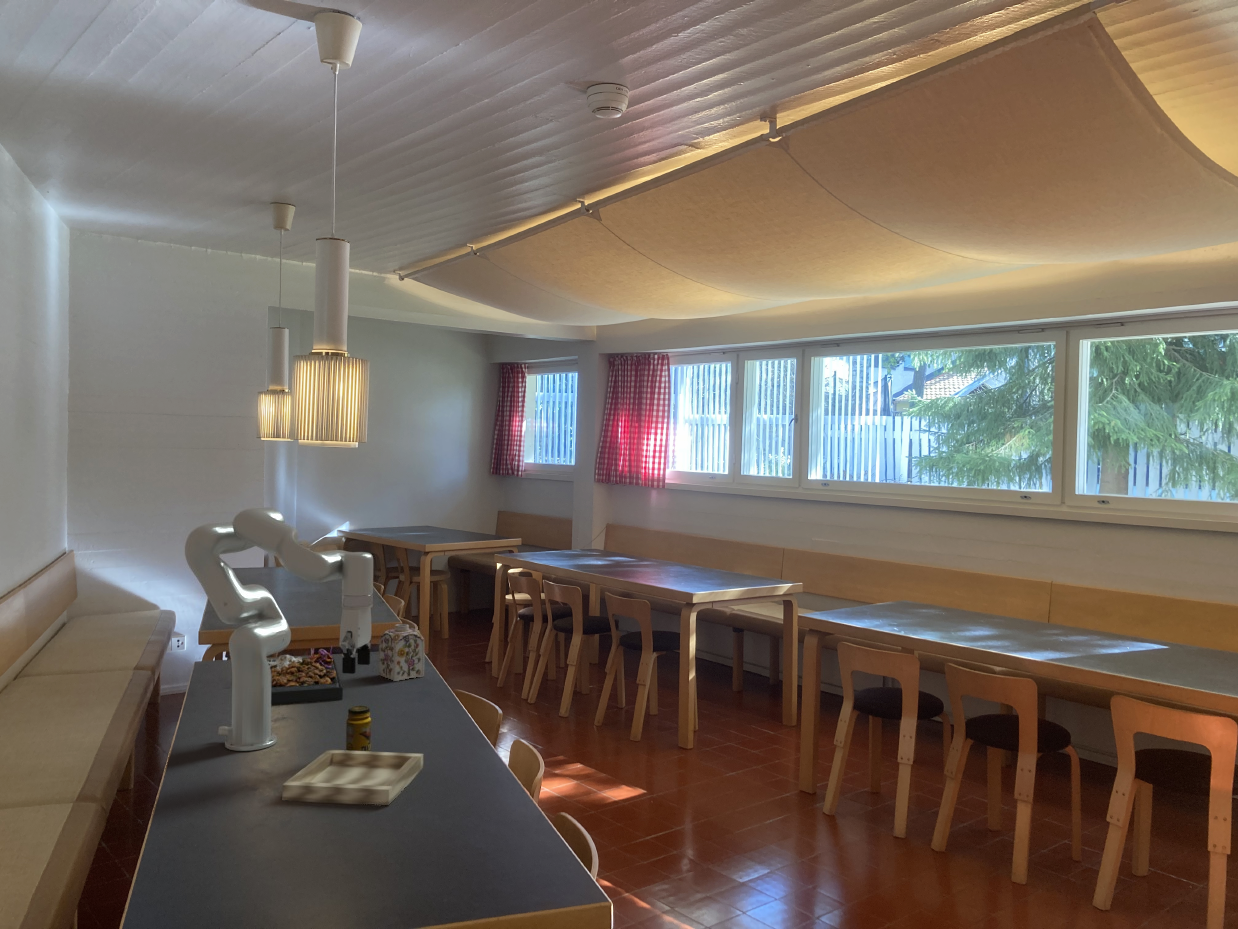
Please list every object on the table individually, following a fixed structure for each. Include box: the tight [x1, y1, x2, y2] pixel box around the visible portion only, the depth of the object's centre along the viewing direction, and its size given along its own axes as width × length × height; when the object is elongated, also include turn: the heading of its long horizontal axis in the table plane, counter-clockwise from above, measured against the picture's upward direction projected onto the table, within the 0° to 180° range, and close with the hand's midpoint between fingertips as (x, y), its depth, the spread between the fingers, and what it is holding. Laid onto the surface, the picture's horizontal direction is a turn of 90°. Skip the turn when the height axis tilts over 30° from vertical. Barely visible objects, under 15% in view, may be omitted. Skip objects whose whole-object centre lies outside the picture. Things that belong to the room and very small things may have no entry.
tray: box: [281, 749, 424, 806], centre depth 205 cm, size 24×24×4 cm
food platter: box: [267, 645, 344, 706], centre depth 294 cm, size 45×25×10 cm, turn 21°
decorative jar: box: [378, 623, 425, 682], centre depth 308 cm, size 12×12×18 cm
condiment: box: [345, 705, 372, 752], centre depth 225 cm, size 7×8×12 cm
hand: (356, 668), depth 225 cm, fingers open, 9 cm apart
